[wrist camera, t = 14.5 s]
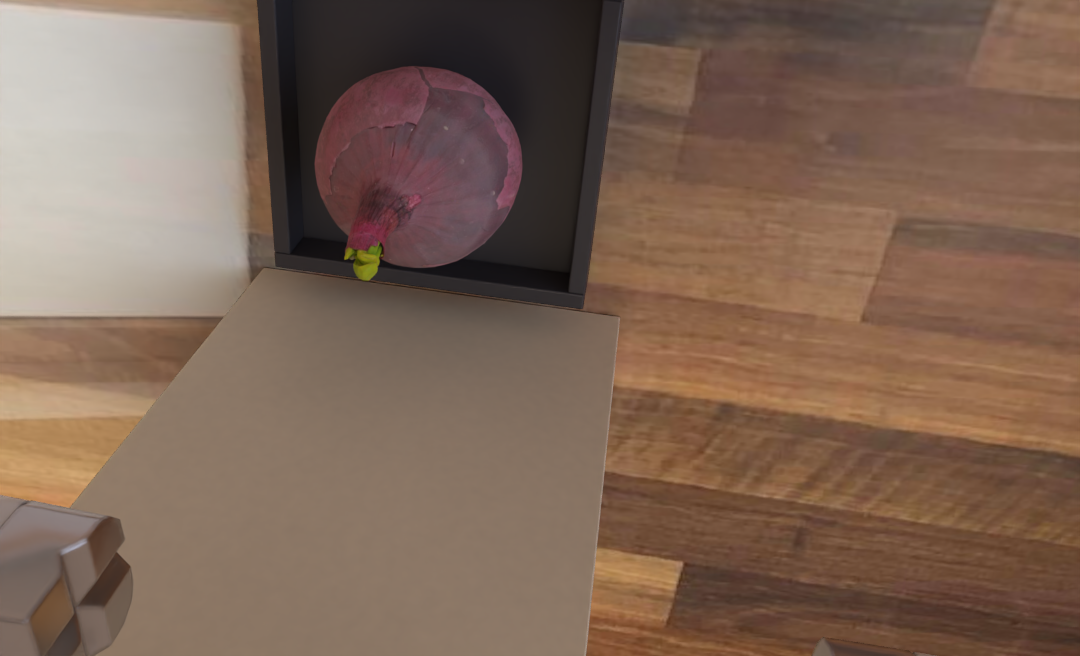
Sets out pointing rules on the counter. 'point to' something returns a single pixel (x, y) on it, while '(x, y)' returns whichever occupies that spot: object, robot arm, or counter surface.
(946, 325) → the counter surface
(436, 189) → the vegetable
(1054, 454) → the counter surface
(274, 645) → the column
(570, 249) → the pan
